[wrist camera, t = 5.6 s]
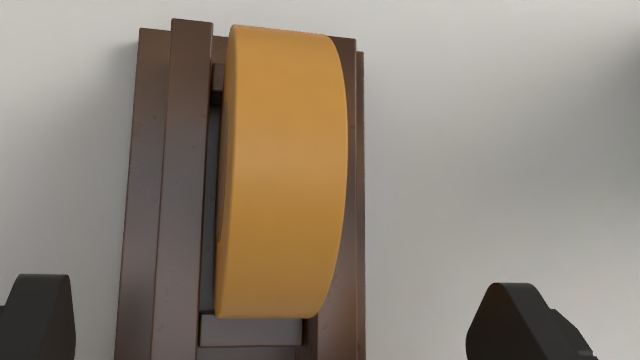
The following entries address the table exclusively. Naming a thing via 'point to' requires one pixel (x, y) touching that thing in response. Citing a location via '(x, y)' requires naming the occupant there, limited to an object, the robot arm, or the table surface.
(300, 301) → the tape roll
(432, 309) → the table surface
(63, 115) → the table surface
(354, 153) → the holder
